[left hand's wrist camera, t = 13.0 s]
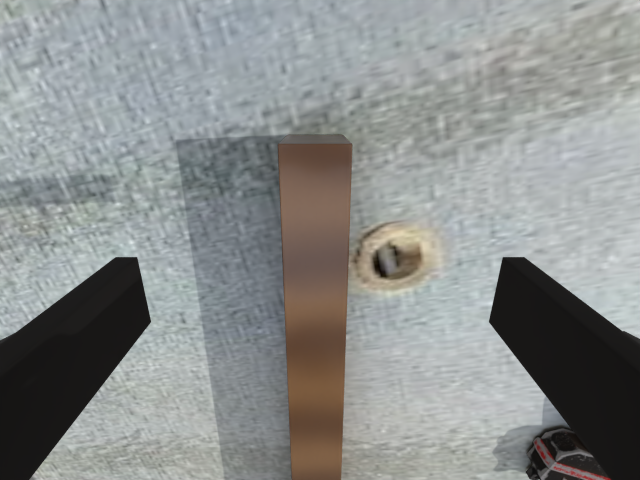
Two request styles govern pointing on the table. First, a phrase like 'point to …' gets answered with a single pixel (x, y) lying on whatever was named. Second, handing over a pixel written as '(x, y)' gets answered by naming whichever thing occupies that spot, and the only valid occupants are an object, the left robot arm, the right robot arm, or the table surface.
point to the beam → (315, 296)
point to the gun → (562, 458)
